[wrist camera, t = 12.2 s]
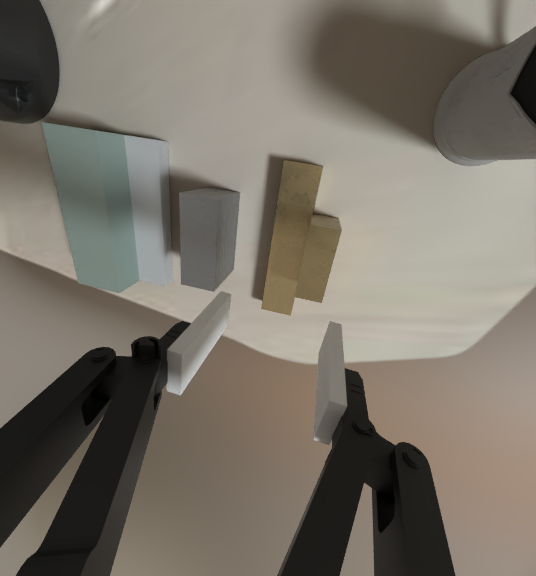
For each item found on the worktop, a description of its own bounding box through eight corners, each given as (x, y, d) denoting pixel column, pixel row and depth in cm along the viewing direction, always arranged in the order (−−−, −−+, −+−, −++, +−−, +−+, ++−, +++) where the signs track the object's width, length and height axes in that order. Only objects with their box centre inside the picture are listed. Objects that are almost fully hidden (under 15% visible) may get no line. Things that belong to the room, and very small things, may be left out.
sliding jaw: (264, 301, 36) (254, 325, 30) (286, 160, 28) (277, 159, 22) (313, 312, 35) (311, 339, 30) (351, 170, 27) (357, 172, 21)
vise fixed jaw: (112, 267, 39) (78, 283, 33) (90, 129, 30) (41, 122, 25) (172, 280, 37) (147, 299, 32) (167, 141, 29) (132, 136, 24)
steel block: (206, 263, 35) (181, 284, 29) (208, 186, 31) (179, 192, 24) (233, 269, 35) (214, 291, 29) (240, 192, 30) (218, 199, 24)
